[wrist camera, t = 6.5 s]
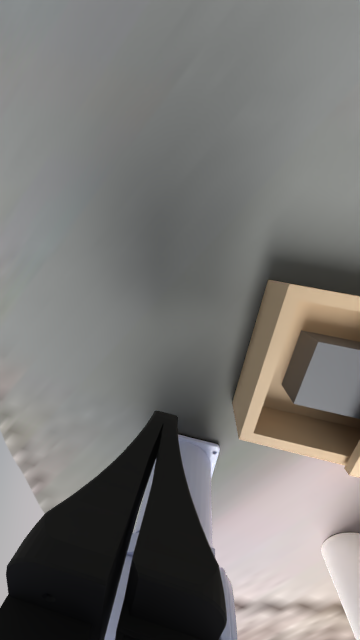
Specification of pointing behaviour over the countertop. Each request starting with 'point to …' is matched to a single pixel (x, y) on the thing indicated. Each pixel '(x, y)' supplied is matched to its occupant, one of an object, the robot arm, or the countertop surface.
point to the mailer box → (302, 373)
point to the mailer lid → (354, 462)
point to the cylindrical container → (345, 573)
